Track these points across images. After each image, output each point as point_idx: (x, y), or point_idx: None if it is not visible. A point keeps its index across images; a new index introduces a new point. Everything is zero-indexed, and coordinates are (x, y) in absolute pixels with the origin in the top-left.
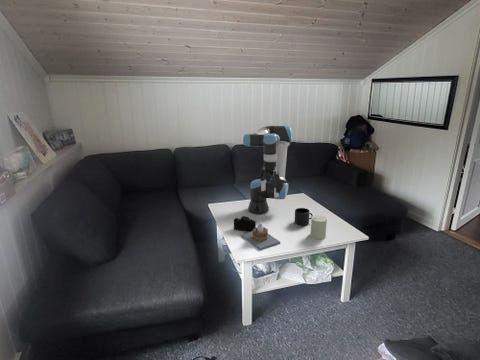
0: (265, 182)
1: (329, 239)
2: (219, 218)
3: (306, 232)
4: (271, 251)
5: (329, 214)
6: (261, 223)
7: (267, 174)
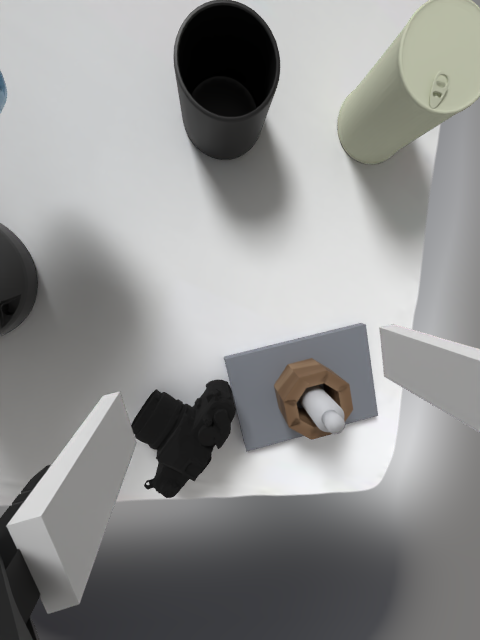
0: (69, 476)
1: None
2: None
3: (323, 159)
4: None
5: None
6: (340, 420)
7: None
